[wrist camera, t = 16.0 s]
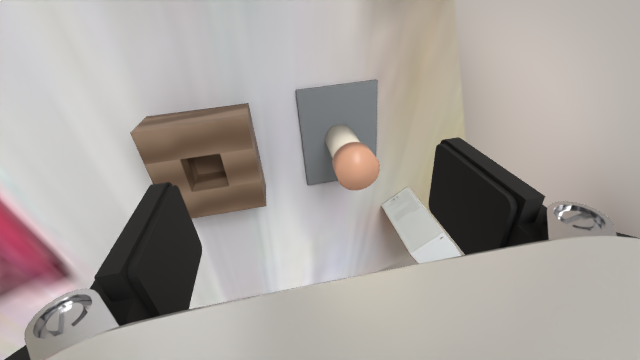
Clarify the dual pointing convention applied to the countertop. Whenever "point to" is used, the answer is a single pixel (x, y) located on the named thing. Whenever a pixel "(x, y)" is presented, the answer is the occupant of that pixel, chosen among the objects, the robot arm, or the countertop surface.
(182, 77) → the countertop surface
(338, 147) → the plug
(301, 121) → the mat
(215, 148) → the socket block
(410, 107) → the countertop surface
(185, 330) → the robot arm
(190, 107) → the countertop surface
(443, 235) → the small box
